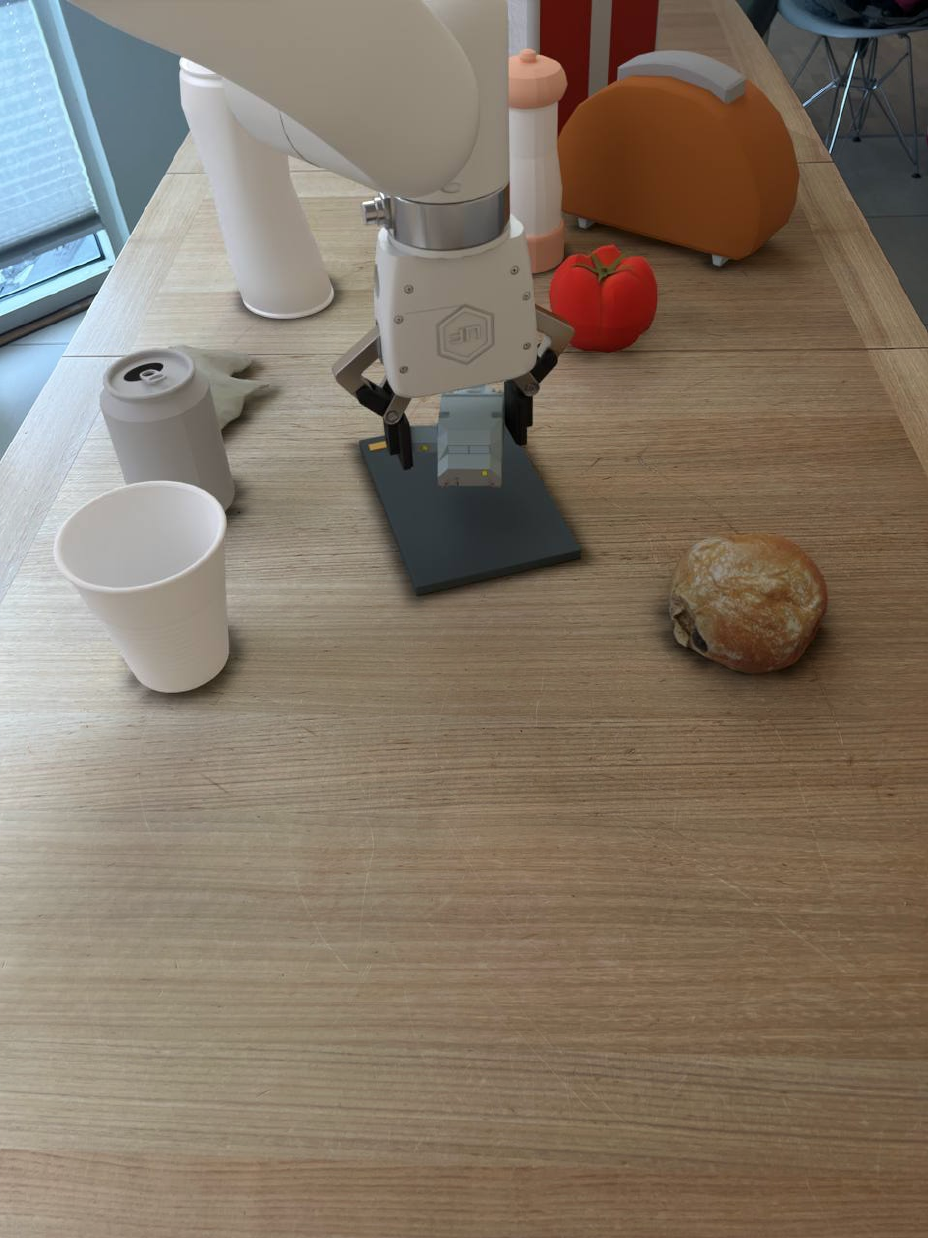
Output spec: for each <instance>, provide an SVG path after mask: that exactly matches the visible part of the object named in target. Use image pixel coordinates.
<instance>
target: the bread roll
mask: <svg viewBox="0 0 928 1238" xmlns="http://www.w3.org/2000/svg"><path fill="white" fill-rule="evenodd" d="M824 577H825V575H823V574H822V572H821V571H820V568H819V567H818V566H817V563H815V561H814V560H813V559H812V558H811V557H810V556H809V554H807V553H806V551H804V549H802V548H801V547H800V546H799V544H797V543H795V542H794V541H792V540H791V539H788V538H786V537H785V536H783V535H780V534H764V533H763V532H752V533H750V534H725V535H716V536H711V537H708V538H705V539H702V540H700V541H698V542H696V543H695V544H693V545H692V546H691V547H690V548H689V549H687V550H686V551H685V552H684V553H683V555H682V556H681V557H680V558H679V560H678V562H677V563H676V565H675V567H674V569H673V572H672V574H671V577H670V579H669V586H668V589H669V597H668V598H669V599H668V601H669V606H668V607H669V608H668V612H669V615H670V619H671V622H672V623H673V625H674V628H673V637H674V638H675V640H676V641H677V644H680V645H681V646H683V647H684V648H689V649H691V650H693V651H695V652H697V653H698V654H700V655H701V656H703V657H705V658H706V659H709V660H711V661H713V662H716V663H718V664H721V665H723V666H725V667H727V668H729V669H730V670H733V671H737V672H741V673H745V674H753V675H755V674H765V673H771V672H774V671H778V670H781V669H782V670H783V669H785V668H787V667H789V666H791V665H794V664H795V663H797V662H798V660H799V659H800V658H801V656H803V654H804V652H805V651H806V649H807V648H808V647H809V645H810V644H811V643H812V641H813V640H814V638H815V637H816V635H817V631H818V630H819V628H820V627H821V625H822V622H823V620H824V617H825V616H826V613H827V609H828V603H829V602H828V601H829V599H828V589H827V583H826V581H825V579H824Z"/></svg>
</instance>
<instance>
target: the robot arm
mask: <svg viewBox="0 0 928 1238" xmlns="http://www.w3.org/2000/svg"><path fill="white" fill-rule="evenodd" d="M65 1H66V2H68V3H69V4H71V5H73V6H75V7H76V8H78V9H81V10H82V11H84V12H86V13H88V14H90V15H91V16H93V17H94V18H96V19H97V20H99V21H101V22H103V23H105V24H107V25H109V26H110V27H112V28H115V29H116V30H119V31H121V32H123V33H125V34H127V35H128V36H132V37H133V38H136V39H138V40H140V41H142V42H145V43H148V44H150V45H152V46H154V47H157V48H159V49H162V50H164V51H167V52H169V53H171V54H174V55H177V57H180V58H181V57H183V58H185V59H187V60H190V61H192V62H194V63H196V64H198V65H201V66H203V67H205V68H207V69H209V70H211V71H213V72H215V73H217V74H218V75H220V76H222V83H223V89H224V93H225V97H226V99H227V102H228V104H229V107H230V109H231V110H232V112H233V114H234V116H235V117H236V118H237V120H238V121H239V122H240V124H241V125H242V126H243V127H244V128H245V129H246V130H247V131H248V132H249V133H250V134H251V135H253V136H254V137H255V138H256V139H258V140H259V141H261V142H262V143H264V144H266V145H268V146H270V147H272V148H273V149H275V150H278V151H280V152H282V153H285V154H287V155H288V157H291V158H295V159H297V160H299V161H302V162H305V163H307V164H309V165H312V166H314V167H317V168H320V169H323V170H326V171H328V172H330V173H333V174H335V175H337V176H340V177H342V178H344V179H348V180H350V181H352V182H355V183H357V184H359V185H362V186H363V187H365V188H368V189H371V190H373V191H375V192H377V195H378V196H373V197H372V198H371V199H372V200H371V199H370V200H366V201H361V202H360V210H361V212H360V213H361V218H362V222H363V224H364V226H371V225H372V226H373V225H376V226H378V227H379V226H382V227H381V228H380V229H379V230H378V234H377V240H376V246H375V247H376V248H375V258H374V274H373V275H374V276H373V285H374V286H373V308H374V309H373V311H374V312H373V313H374V315H373V316H374V317H373V318H374V326H373V328H371V329H370V330H369V331H368V332H367V333H366V334H365V335H363V337H362V338H360V339H359V340H358V341H357V342H356V343H354V345H352V346H351V348H349V349H348V350H347V351H346V352H344V354H343V355H342V356H340V357H339V358H338V359H337V360H336V361H334V363H333V364H332V366H331V373H332V374H333V377H334V379H335V381H336V383H337V384H338V385H340V387H342V388H343V389H344V390H345V391H346V392H347V393H348V394H350V396H352V397H354V398H355V399H356V400H357V401H358V403H359V404H360V405H361V406H363V407H364V408H366V409H367V410H370V411H371V412H373V413H374V414H375V415H378V416H379V417H380V418H382V423H383V424H382V425H383V433H384V434H383V435H385V442H386V447H387V450H388V453H389V455H390V456H391V455H396V454H397V456H398V459H399V461H400V463H401V466H402V468H403V470H409V469H411V467H413V456H412V444H411V433H410V425H411V424H410V422H409V421H410V420H409V419H408V417H407V415H406V413H405V411H406V410H407V408H408V407H409V405H410V403H411V401H412V399H420V398H426V397H430V396H431V397H432V396H437V395H442V394H443V393H448V392H457V391H458V390H463V389H468V388H473V387H478V386H483V385H487V386H488V385H491V384H497V383H501V382H502V383H503V392H504V421H505V426H506V428H507V429H508V431H509V433H510V435H511V436H512V438H513V440H514V442H515V443H516V445H519V446H522V447H523V446H527V445H528V428H531V427H533V425H534V396H536V395H538V393H539V392H540V389H541V387H540V384H541V383H542V382H543V381H544V379H545V378H546V377H547V376H548V375H549V374H550V373H551V372H552V371H553V370H554V369H555V367H557V365H558V363H559V357H560V356H561V355H562V354H563V353H564V352H565V350H566V349H567V348H568V346H569V345H570V344H569V343H570V341H571V340H572V338H573V337H574V335H575V330H574V328H573V327H572V326H571V324H570V323H569V321H568V320H567V319H565V318H563V317H561V316H559V315H557V314H555V313H553V312H552V311H551V310H549V309H547V308H545V307H543V306H540V305H538V304H537V303H536V300H535V291H534V290H535V289H534V279H533V273H532V271H531V263H530V257H529V251H528V244H527V240H526V235H525V231H524V227H523V225H522V223H521V222H520V221H519V220H517V219H516V217H515V216H514V215H512V214H511V213H510V151H509V35H508V5H507V0H65ZM538 332H540V333H542V334H544V336H543V338H542V341H541V342H540V343H538ZM377 360H379V362H380V364H381V365H382V366H383V368H384V373H385V374H384V376H383V378H382V380H381V382H380V384H379V385H378V384H377V383H375V382H373V380H372V381H371V380H370V379H368V378H367V377H364V376H363V373H364V372H365V371H366V370H367V369H368V368H370V366H372V365H373V364H374V363H375V362H376V361H377Z"/></svg>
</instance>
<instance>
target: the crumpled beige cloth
mask: <svg viewBox="0 0 928 1238" xmlns="http://www.w3.org/2000/svg"><path fill="white" fill-rule="evenodd" d="M167 348H168V349H173V350H178V351H181V352H183V353H185V354H187V355H189V356H190V357H191V358H192V360H193V361H194V362H195V367H196V368H198V369H200V370H202V371H203V373H204V374H205V375H206V376H207V378H208V381H209V385H210V389H211V393H212V397H213V401H214V405H215V410H216V414H217V418H218V422H219V426H220V430H221V431H222V430H223V429H224V428H225V427H226V426H227V425H228V424H229V423H230V422H232V421H233V420H236V419H238V418H239V417H240V415H241V413H242V411H243V408H244V402H245V399H246V398H248V397H250V396H251V395H253V394H254V393H256V392H258V391H260V390H263V389H267V388H268V387H270V386H271V382H267V381H260V380H251V379H243V378H242V379H241V378H236V377H232V375H234V374H239V373H242V372H243V371H244V370H245V369H247V368H249V366H251V364H253V363H254V362H255V359H254V357H252V356H251V355H250V354H248V353H240V352H236V351H233V350H229V349H206V348H198V347H192V346H188V345H185V344H179V345H175V346H174V345H173V346H171V345H170V346H168V347H167Z"/></svg>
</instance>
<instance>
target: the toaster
mask: <svg viewBox="0 0 928 1238" xmlns="http://www.w3.org/2000/svg"><path fill="white" fill-rule="evenodd" d="M557 151H558V159H559V167H560V175H561V182H562V202H561V213H564V214H567V215H570V216H572V217H573V216H574V217H577V219H578V226H579V228H581V229H585V230H587V229H588V228H589V227H591V226H592V225H594V224H595V223H598V224H601V225H605V226H609V227H612V228H614V229H615V228H616V229H620V230H623V231H627V232H630V233H634V234H637V235H641V236H645V237H649V238H652V239H655V240H658V241H659V240H660V241H663V242H667V243H670V244H674V245H678V246H681V247H684V248H688V249H692V250H695V251H700V252H702V253H707V254H710V255H711V257H712V264H713V266H716V267H722V266H723V265H724V264H725V263H726V262H728V260H734V261H740V260H742V259H744V258H745V257H748V256H750V255H751V254H753V253H755V252H756V251H757V250H759V249H760V248H761V247H762V246H763V245H764V244H765V243H767V242H768V241H769V240H770V239H771V238H772V237H774V235H776V234H777V233H778V232H779V231H780V230H782V228H783V227H785V226H786V225H787V224H788V223H789V221H790V219H791V216H792V214H793V211H794V208H795V206H796V204H797V197H798V191H799V183H800V175H801V173H800V169H799V165H798V160H797V156H796V151H795V146H794V142H793V139H792V137H791V134H790V132H789V130H788V128H787V126H786V123H785V120H784V118H783V116H782V113H781V112H780V110H778V108H776V106H775V105H774V104H773V103H772V101H771V100H770V99H769V98H768V96H766V94H765V93H764V92H763V91H762V90H761V89H760V88H759V87H757V86H756V85H755V84H754V83H753V82H752V81H750V80H749V79H748V78H747V77H746V76H745V75H744V74H742V72H740V71H738V70H736V69H734V68H732V67H731V66H729V65H727V63H724V62H722V61H719V60H717V59H715V58H713V57H711V56H708V55H706V54H705V55H704V54H701V53H698V52H694V51H689V50H677V49H671V50H668V49H667V50H658V51H655V52H651V53H647V54H642V55H638V56H636V57H635V58H633V59H631V60H629V61H628V62H626V63H624V64H623V65H621V66H619V67H618V77H617V81H615V82H613V83H612V84H610V85H608V86H606V87H605V88H603V89H601V90H600V91H598V92H597V93H595V94H594V95H592V96H591V97H589V98H588V99H586V100H585V101H583V102H582V103H581V104H579V105H578V107H577V108H576V110H575V111H574V112H573V114H572V115H571V117H570V118H569V120H568V121H567V123H566V124H565V126H564V127H563V129H562V131H561V133H560V136H559V138H558V140H557Z"/></svg>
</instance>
